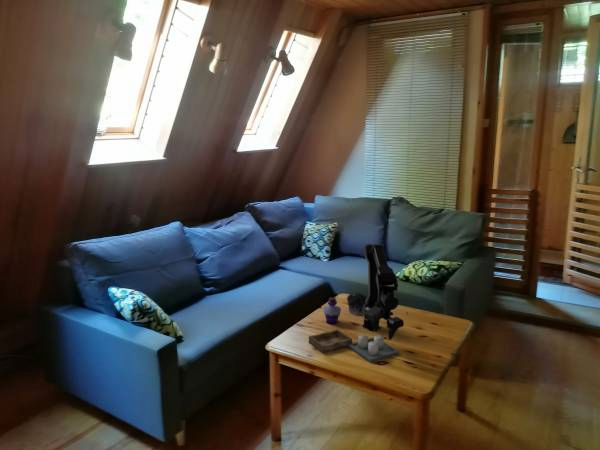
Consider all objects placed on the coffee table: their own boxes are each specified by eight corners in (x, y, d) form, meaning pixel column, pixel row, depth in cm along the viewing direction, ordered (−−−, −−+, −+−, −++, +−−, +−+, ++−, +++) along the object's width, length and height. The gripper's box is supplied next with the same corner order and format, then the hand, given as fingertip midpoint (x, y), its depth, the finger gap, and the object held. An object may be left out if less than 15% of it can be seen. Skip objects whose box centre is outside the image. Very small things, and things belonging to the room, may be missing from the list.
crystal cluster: (378, 312, 236) (379, 293, 235) (363, 317, 226) (364, 298, 225) (357, 307, 245) (358, 289, 244) (341, 312, 235) (342, 293, 234)
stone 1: (361, 343, 198) (361, 334, 197) (369, 346, 195) (369, 336, 194) (355, 347, 195) (356, 337, 194) (363, 350, 192) (364, 340, 191)
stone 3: (379, 344, 198) (379, 334, 197) (385, 348, 194) (385, 338, 193) (371, 346, 196) (372, 336, 195) (377, 350, 192) (378, 340, 191)
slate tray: (375, 339, 204) (375, 336, 203) (398, 354, 191) (398, 350, 191) (347, 347, 196) (347, 344, 196) (369, 362, 184) (370, 359, 183)
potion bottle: (333, 317, 227) (334, 293, 225) (344, 323, 220) (345, 299, 218) (319, 320, 223) (319, 297, 221) (329, 327, 216) (330, 302, 213)
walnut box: (337, 335, 207) (337, 329, 207) (351, 345, 198) (352, 338, 197) (308, 342, 200) (308, 336, 199) (322, 353, 191) (322, 346, 190)
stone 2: (375, 351, 192) (375, 341, 191) (379, 355, 188) (379, 345, 187) (366, 352, 191) (366, 342, 190) (370, 356, 187) (370, 346, 186)
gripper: (355, 296, 196) (354, 330, 199) (384, 312, 180) (382, 348, 183) (376, 292, 201) (374, 325, 204) (405, 306, 185) (403, 342, 189)
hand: (382, 335), depth 195 cm, fingers open, 9 cm apart
